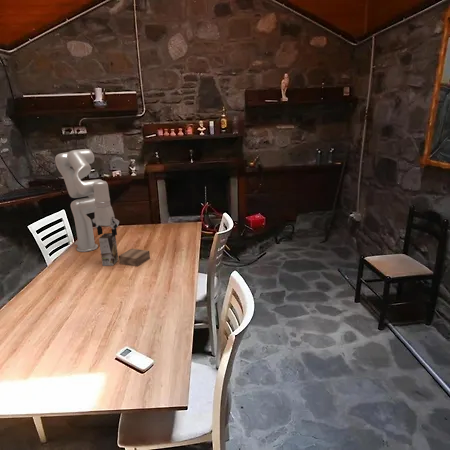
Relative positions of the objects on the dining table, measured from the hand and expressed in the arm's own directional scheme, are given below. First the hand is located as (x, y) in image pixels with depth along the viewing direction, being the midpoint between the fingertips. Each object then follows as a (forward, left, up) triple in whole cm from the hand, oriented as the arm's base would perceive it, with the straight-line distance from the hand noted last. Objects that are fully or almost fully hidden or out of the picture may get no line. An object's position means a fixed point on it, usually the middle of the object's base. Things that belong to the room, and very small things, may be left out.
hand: (107, 234), depth 192 cm
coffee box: (-1, 0, -17) cm, 17 cm away
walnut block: (+11, +6, -17) cm, 21 cm away
